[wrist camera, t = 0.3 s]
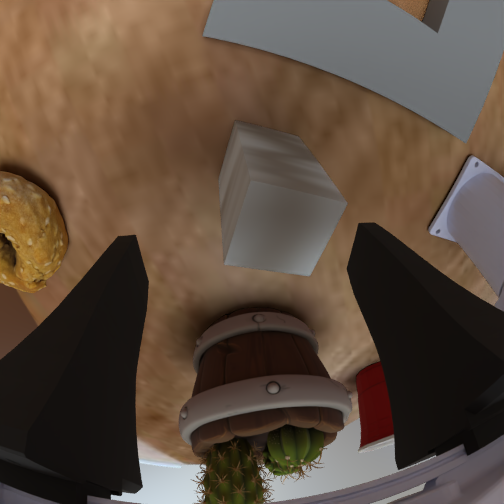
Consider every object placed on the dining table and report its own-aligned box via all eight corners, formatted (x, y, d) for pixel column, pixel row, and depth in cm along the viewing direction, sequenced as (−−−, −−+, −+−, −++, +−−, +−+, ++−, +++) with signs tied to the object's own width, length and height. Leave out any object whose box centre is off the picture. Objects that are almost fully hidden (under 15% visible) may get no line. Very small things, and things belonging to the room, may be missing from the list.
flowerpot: (344, 284, 27) (422, 503, 12) (300, 369, 37) (334, 520, 21) (177, 281, 24) (179, 554, 9) (182, 372, 34) (189, 538, 19)
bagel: (-23, 253, 20) (-45, 290, 16) (-25, 145, 14) (-62, 176, 11) (64, 287, 24) (50, 329, 20) (83, 181, 18) (58, 221, 15)
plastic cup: (325, 390, 42) (343, 462, 33) (365, 351, 36) (395, 435, 27) (377, 386, 46) (398, 448, 36) (418, 350, 39) (448, 419, 30)
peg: (298, 136, 18) (347, 203, 12) (278, 191, 20) (309, 276, 14) (235, 120, 17) (250, 180, 11) (218, 179, 19) (224, 264, 13)
